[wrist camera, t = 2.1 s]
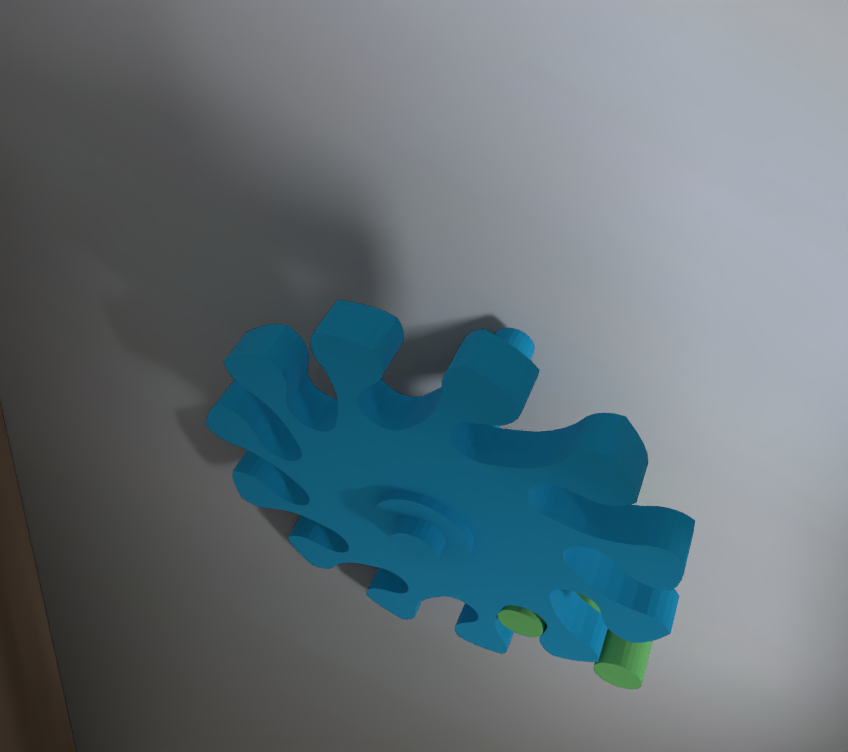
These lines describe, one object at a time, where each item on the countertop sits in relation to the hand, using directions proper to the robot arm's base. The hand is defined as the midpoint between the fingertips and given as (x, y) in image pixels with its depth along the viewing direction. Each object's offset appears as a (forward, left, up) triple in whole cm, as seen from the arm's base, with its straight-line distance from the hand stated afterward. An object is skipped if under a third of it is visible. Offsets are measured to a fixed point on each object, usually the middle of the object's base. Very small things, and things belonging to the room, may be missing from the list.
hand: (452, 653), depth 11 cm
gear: (-1, 0, -9) cm, 9 cm away
